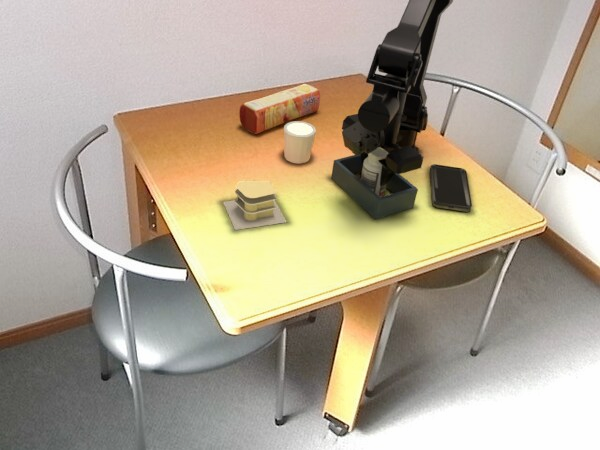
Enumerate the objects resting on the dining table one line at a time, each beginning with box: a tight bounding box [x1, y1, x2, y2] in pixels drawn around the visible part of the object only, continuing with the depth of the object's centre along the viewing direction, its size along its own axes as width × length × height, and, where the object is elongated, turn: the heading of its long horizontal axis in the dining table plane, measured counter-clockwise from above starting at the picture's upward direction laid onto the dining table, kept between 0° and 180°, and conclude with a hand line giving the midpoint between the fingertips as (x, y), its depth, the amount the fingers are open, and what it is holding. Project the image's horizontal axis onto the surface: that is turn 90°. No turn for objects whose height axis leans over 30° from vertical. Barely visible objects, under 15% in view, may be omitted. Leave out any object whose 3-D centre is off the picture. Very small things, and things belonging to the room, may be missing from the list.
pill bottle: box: [360, 147, 388, 198], centre depth 123 cm, size 5×5×10 cm
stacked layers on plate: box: [222, 179, 287, 231], centre depth 116 cm, size 10×9×6 cm
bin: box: [330, 154, 419, 220], centre depth 125 cm, size 10×16×4 cm, turn 32°
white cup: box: [283, 120, 317, 165], centre depth 133 cm, size 7×7×7 cm
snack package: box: [238, 83, 321, 134], centre depth 145 cm, size 21×7×7 cm, turn 134°
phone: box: [429, 163, 473, 213], centre depth 129 cm, size 8×1×15 cm
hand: (374, 178), depth 124 cm, fingers closed on pill bottle, 5 cm apart
